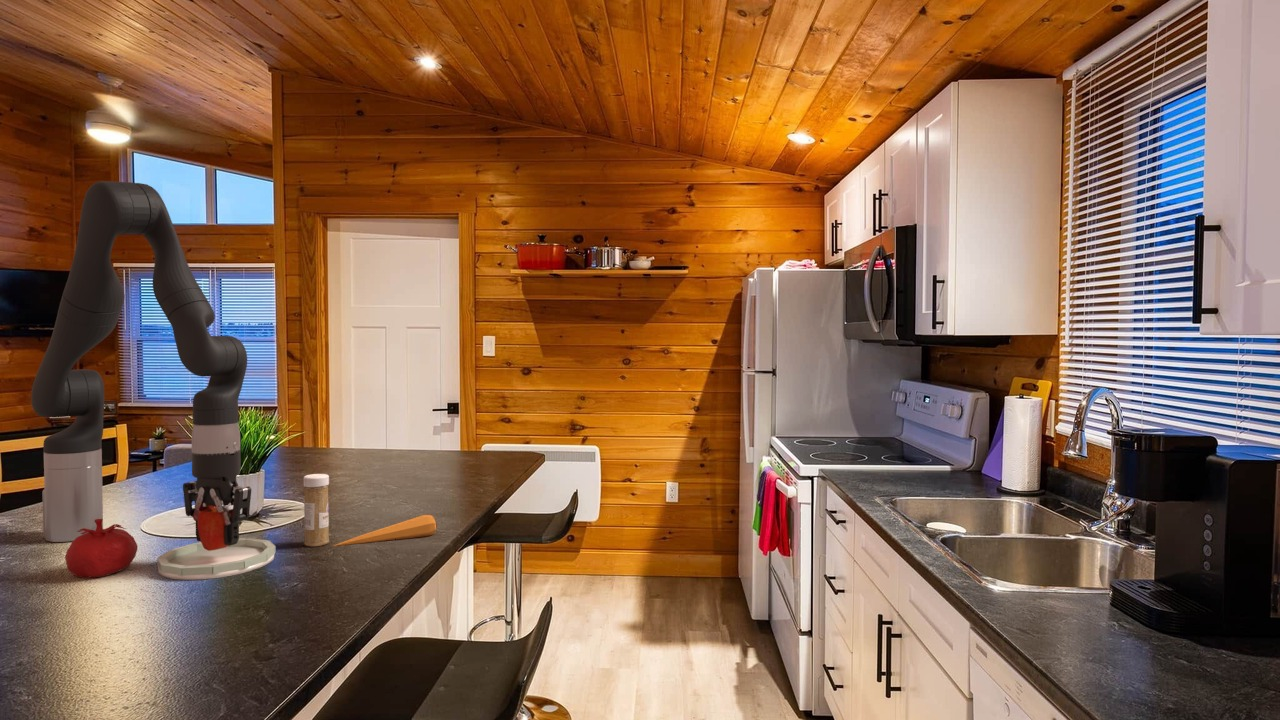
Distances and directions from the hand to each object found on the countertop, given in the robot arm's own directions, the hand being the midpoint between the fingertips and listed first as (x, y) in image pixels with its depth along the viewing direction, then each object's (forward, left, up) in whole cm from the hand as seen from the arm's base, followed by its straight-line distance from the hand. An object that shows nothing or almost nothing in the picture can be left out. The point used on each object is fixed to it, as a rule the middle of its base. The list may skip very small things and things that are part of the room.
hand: (217, 542), depth 134 cm
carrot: (+17, +24, -4) cm, 30 cm away
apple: (0, 0, -1) cm, 1 cm away
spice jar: (+7, +16, -4) cm, 18 cm away
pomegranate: (-14, -11, -4) cm, 18 cm away
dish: (0, 0, -4) cm, 4 cm away
